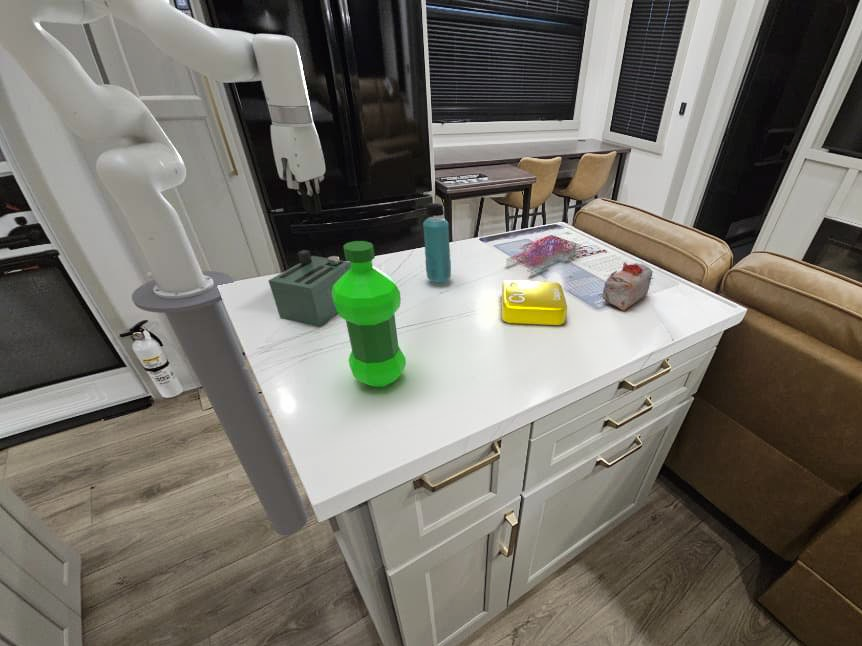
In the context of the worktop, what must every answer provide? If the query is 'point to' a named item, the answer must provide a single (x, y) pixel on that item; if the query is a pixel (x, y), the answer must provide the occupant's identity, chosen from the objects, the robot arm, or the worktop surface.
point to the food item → (627, 285)
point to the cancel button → (334, 261)
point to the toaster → (307, 291)
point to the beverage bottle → (437, 244)
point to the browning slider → (304, 257)
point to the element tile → (533, 303)
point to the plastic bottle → (369, 317)
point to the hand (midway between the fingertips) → (313, 212)
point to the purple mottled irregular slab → (539, 253)
